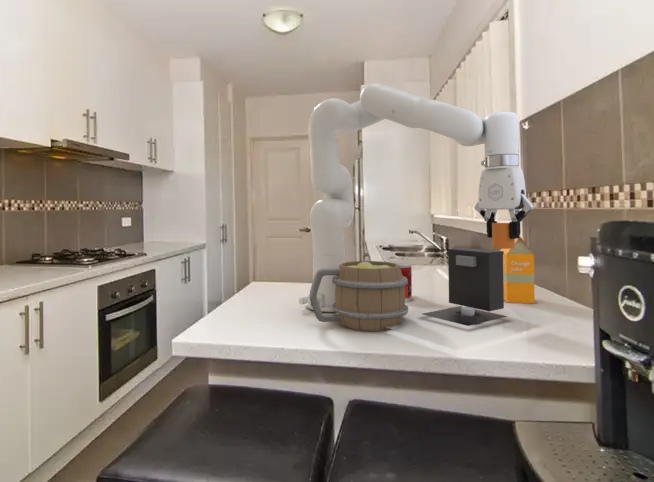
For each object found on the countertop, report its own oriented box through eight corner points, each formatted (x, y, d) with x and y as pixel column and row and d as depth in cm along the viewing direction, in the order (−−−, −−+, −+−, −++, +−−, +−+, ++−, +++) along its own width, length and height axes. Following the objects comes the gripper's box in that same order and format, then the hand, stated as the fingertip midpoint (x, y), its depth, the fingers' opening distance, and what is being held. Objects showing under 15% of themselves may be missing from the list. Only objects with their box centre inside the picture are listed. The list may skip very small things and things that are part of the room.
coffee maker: (486, 312, 111) (485, 253, 111) (444, 303, 122) (444, 249, 122) (504, 308, 115) (503, 251, 115) (462, 300, 126) (462, 247, 126)
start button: (469, 317, 108) (469, 310, 108) (458, 314, 111) (458, 307, 111) (477, 315, 110) (477, 308, 110) (466, 313, 112) (466, 306, 112)
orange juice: (506, 302, 136) (505, 235, 136) (499, 296, 144) (498, 233, 145) (535, 303, 134) (534, 235, 134) (526, 297, 143) (525, 233, 143)
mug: (303, 316, 121) (302, 260, 121) (391, 312, 124) (391, 258, 124) (317, 336, 102) (317, 270, 102) (421, 331, 105) (420, 267, 106)
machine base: (469, 331, 106) (469, 318, 106) (420, 318, 118) (420, 306, 118) (509, 321, 114) (509, 309, 114) (459, 310, 126) (459, 299, 126)
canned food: (414, 301, 138) (414, 265, 138) (388, 301, 138) (388, 265, 138) (407, 296, 146) (407, 262, 146) (383, 296, 146) (382, 262, 146)
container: (507, 249, 107) (506, 223, 107) (487, 247, 111) (487, 223, 111) (519, 247, 110) (518, 223, 110) (499, 246, 114) (499, 222, 114)
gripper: (461, 165, 116) (463, 236, 116) (527, 159, 101) (529, 240, 101) (479, 166, 120) (481, 235, 120) (545, 160, 105) (547, 239, 105)
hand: (503, 237), depth 111 cm, fingers closed on container, 5 cm apart
